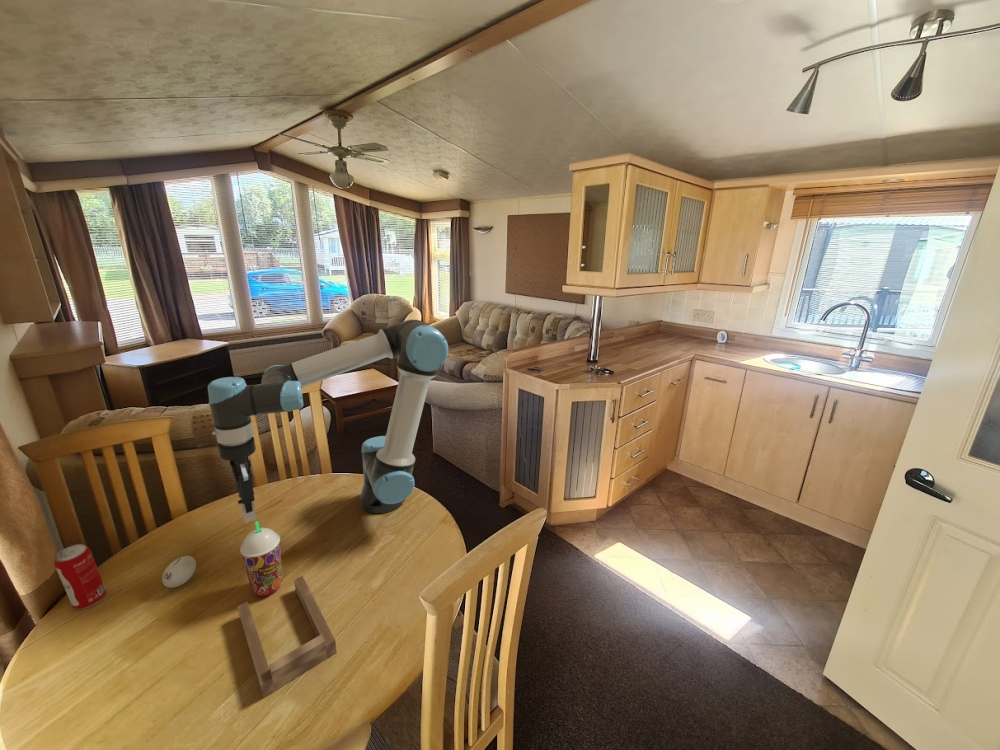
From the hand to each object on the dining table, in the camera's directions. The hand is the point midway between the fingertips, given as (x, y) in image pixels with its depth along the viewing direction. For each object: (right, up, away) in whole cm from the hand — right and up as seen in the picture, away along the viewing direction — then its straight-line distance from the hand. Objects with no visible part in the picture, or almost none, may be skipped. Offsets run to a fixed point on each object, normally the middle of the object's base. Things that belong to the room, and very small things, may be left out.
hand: (250, 519), depth 103 cm
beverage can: (-32, -16, -10) cm, 37 cm away
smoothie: (+7, -16, -4) cm, 18 cm away
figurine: (-15, -15, -4) cm, 21 cm away
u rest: (+18, -20, -16) cm, 31 cm away
